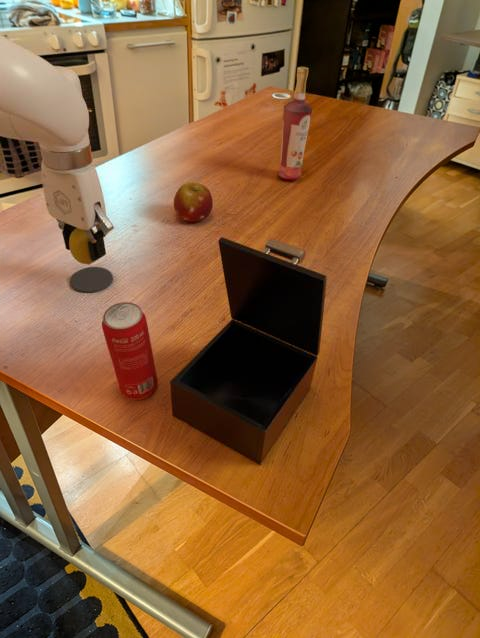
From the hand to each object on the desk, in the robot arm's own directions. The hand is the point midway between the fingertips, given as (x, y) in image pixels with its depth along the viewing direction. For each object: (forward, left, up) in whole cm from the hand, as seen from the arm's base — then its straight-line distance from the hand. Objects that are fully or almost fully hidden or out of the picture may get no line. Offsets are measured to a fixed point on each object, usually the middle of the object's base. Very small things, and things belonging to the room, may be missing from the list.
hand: (86, 251), depth 85 cm
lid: (-4, -40, +9) cm, 41 cm away
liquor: (+67, -9, -7) cm, 68 cm away
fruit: (+32, -1, -7) cm, 33 cm away
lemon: (0, 0, -3) cm, 3 cm away
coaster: (0, 0, -7) cm, 7 cm away
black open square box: (-9, -40, -7) cm, 42 cm away
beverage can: (-16, -25, -7) cm, 30 cm away
